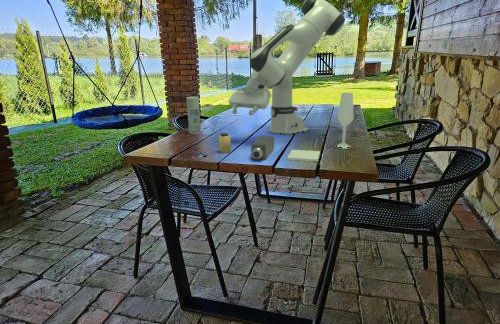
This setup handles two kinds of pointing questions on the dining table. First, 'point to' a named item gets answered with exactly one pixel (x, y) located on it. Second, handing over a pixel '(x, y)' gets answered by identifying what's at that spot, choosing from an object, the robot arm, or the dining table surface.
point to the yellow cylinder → (224, 143)
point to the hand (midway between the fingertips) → (242, 113)
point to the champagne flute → (345, 114)
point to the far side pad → (303, 155)
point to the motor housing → (262, 147)
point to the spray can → (193, 115)
